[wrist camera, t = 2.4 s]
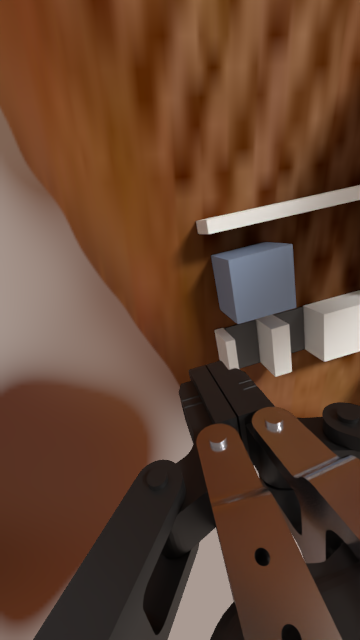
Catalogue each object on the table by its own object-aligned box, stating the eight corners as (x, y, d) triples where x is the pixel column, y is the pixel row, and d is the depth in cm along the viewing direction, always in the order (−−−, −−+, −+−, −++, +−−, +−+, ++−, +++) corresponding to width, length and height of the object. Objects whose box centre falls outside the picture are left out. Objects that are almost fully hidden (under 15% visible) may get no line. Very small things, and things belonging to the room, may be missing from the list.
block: (264, 241, 28) (292, 244, 23) (269, 295, 30) (296, 307, 25) (210, 255, 27) (228, 260, 22) (219, 309, 29) (237, 324, 25)
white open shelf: (376, 181, 28) (409, 174, 25) (367, 330, 34) (393, 340, 31) (195, 221, 26) (206, 219, 22) (221, 373, 32) (232, 389, 28)
